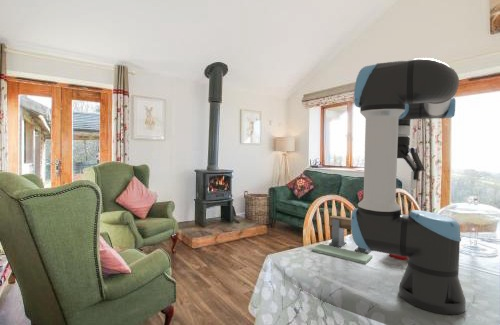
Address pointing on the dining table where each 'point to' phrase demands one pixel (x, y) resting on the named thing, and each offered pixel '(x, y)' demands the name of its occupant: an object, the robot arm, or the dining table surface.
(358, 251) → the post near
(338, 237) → the post far
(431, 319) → the dining table surface
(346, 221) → the rail
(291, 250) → the dining table surface
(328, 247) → the mat
